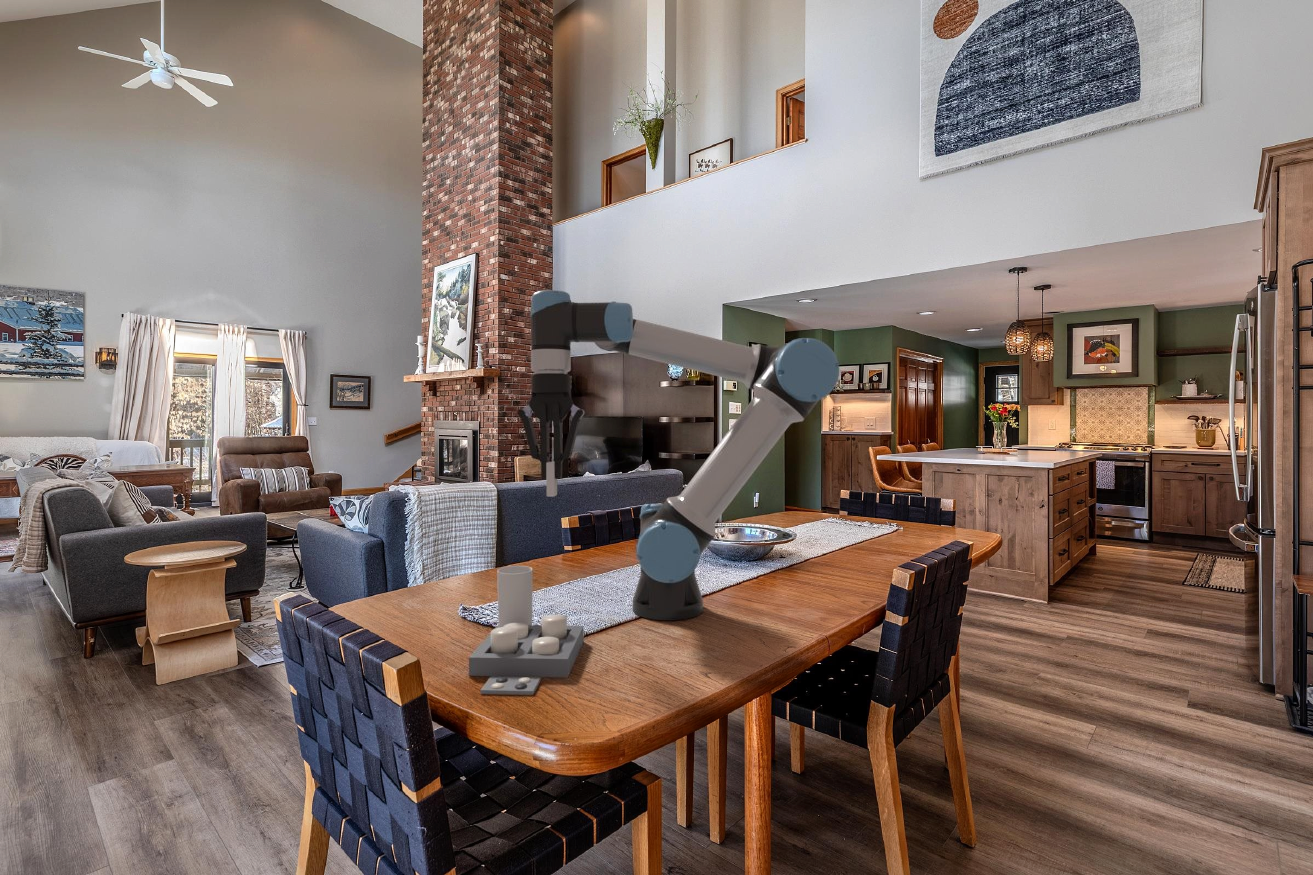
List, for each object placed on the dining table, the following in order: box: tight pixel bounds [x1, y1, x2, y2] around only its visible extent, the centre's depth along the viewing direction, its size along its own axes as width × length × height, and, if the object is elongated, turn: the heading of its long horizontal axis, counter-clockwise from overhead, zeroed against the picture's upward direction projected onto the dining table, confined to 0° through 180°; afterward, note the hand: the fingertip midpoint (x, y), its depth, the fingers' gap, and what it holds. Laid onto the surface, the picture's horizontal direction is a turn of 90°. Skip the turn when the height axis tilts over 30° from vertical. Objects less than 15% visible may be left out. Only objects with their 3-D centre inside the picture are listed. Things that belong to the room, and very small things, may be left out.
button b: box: [503, 623, 528, 639], centre depth 114 cm, size 4×4×4 cm
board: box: [468, 624, 585, 679], centre depth 110 cm, size 16×16×3 cm
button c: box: [532, 637, 559, 654], centre depth 106 cm, size 4×4×4 cm
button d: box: [490, 627, 518, 654], centre depth 107 cm, size 4×4×4 cm
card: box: [480, 676, 542, 696], centre depth 98 cm, size 8×5×1 cm, turn 87°
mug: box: [496, 565, 534, 625], centre depth 125 cm, size 10×7×12 cm, turn 25°
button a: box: [541, 614, 568, 639], centre depth 113 cm, size 4×4×4 cm
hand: (551, 495), depth 123 cm, fingers closed
